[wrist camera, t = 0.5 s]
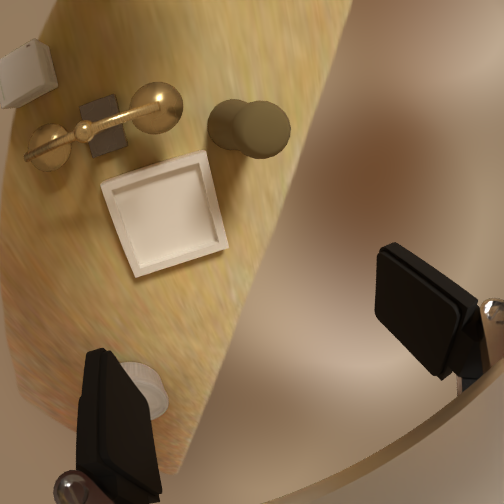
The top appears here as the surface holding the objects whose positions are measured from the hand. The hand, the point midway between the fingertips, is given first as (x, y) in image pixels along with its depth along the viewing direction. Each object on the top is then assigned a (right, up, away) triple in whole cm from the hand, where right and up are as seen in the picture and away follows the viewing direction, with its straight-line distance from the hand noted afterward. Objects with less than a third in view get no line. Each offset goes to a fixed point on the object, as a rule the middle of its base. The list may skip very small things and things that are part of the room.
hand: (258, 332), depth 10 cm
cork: (-2, +17, +24) cm, 29 cm away
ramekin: (-20, -18, +35) cm, 44 cm away
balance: (-16, +16, +19) cm, 30 cm away
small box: (-24, +22, +13) cm, 35 cm away
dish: (-10, +7, +26) cm, 28 cm away
